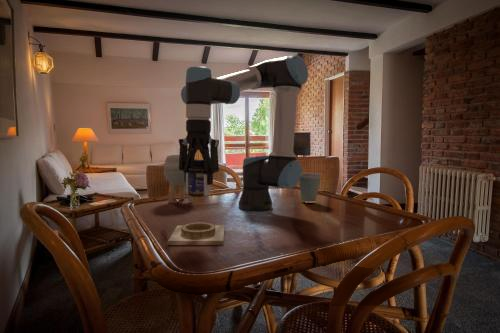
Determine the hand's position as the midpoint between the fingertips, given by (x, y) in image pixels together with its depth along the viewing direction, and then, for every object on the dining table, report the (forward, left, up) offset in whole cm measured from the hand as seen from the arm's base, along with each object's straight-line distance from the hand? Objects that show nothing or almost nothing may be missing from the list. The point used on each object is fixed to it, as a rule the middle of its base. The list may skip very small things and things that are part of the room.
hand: (198, 193), depth 98 cm
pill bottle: (0, 0, -1) cm, 1 cm away
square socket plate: (0, 0, -14) cm, 14 cm away
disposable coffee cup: (-48, -51, -14) cm, 71 cm away
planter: (+14, -53, -14) cm, 57 cm away
